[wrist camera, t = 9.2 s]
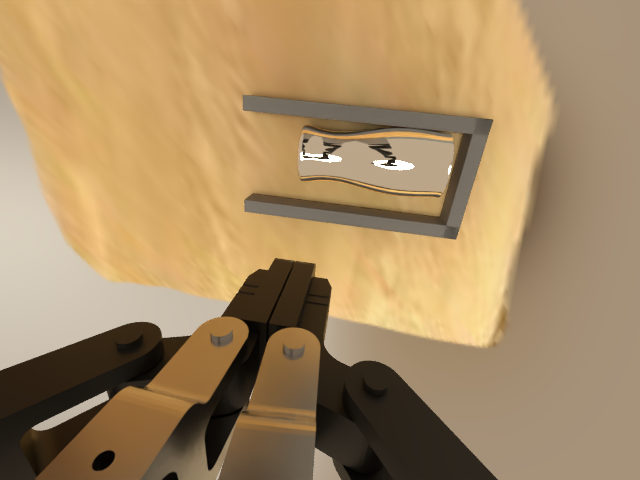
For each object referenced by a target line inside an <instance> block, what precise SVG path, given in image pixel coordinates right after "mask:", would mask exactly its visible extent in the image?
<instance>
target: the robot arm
mask: <svg viewBox="0 0 640 480" xmlns="http://www.w3.org/2000/svg"><path fill="white" fill-rule="evenodd" d="M315 268H316V264H313V263H306V262H299V261H296V262H295V261H292V260H285V259H278V258H275V260H274V261H273V263H272V265H271V266H270V268H269V270H262V269H259V270H257V271H256V272H254V273H252V274H251V275H249V276H248V278H247V279H246V281H245V282H244V284H243V286H242V287H241V288H240V290H239V292H238V293H237V294H236V296H235V297H234V298H233V300H232V301H231V303H230V304H229V306H228V307H227V309H226V310H225V312H224V313H223V315H222V316H221V317H218V318H214V319H211V320H209V321H207V322H205V323H203V324H202V325H201V326H200V327H199V328H198V329H197V330H196V331H195V332H194V333H193V334H192V335H191V336H183V337H170V338H162V334H161V331H160V328H159V327H158V326H156V325H155V324H152V323H148V322H135V323H130V324H126V325H123V326H120V327H117V328H115V329H112V330H109V331H107V332H104V333H101V334H98V335H96V336H93V337H90V338H88V339H85V340H82V341H79V342H77V343H74V344H72V345H68V346H66V347H63V348H60V349H58V350H55V351H52V352H50V353H47V354H44V355H41V356H39V357H36V358H33V359H31V360H28V361H25V362H22V363H20V364H17V365H14V366H12V367H9V368H6V369H3V370H1V371H0V480H216V477H217V475H218V473H219V471H220V468H221V466H222V464H223V466H222V469H221V473H220V476H219V479H218V480H313V466H314V450H315V448H317V449H319V450H320V451H322V452H323V453H325V454H327V455H328V456H330V457H332V458H333V463H334V466H335V468H336V471H337V472H338V474H339V476H340V478H341V480H497V479H496V477H495V476H494V475H493V474H492V473H491V472H490V471H489V470H488V469H487V468H486V467H485V466H484V465H483V464H482V463H481V462H480V461H479V459H477V457H476V456H475V455H474V454H473V453H472V452H471V451H470V450H469V449H468V448H467V447H466V446H465V445H464V444H463V443H462V442H461V441H460V439H459V438H458V437H457V436H456V435H455V434H454V433H453V432H452V431H451V430H450V429H449V428H448V427H447V426H446V425H445V424H444V423H443V422H442V420H441V419H440V418H439V417H438V416H437V415H436V414H435V413H434V412H433V411H432V410H431V409H430V408H429V407H428V406H427V405H426V404H425V402H423V400H422V399H421V398H420V397H419V396H418V395H417V394H416V393H415V392H414V391H413V390H412V389H411V388H410V387H409V386H408V385H407V383H406V382H405V381H404V380H403V379H402V378H401V377H400V376H399V375H398V374H397V373H396V372H395V371H394V370H392V369H391V368H390V367H388V366H386V365H384V364H382V363H380V362H376V361H361V362H358V363H356V364H354V365H353V366H351V367H350V366H347V365H345V364H343V363H341V362H339V361H337V360H336V359H335V358H333V357H332V356H331V355H330V354H329V353H328V351H327V350H326V348H325V346H324V339H325V333H326V326H327V320H328V312H329V304H330V297H331V289H332V287H331V285H330V283H329V281H328V279H324V278H317V277H315ZM254 385H255V386H254ZM253 388H254V390H253ZM252 390H253V393H252ZM105 391H107V393H108V396H109V400H108V401H105V402H103V403H101V404H100V405H97V406H95V407H93V408H91V409H90V410H87V411H86V412H83V413H81V414H79V415H77V416H75V417H74V418H71V419H69V420H67V421H66V422H64V423H61V424H59V425H57V426H56V427H53V428H51V429H48V430H43V431H36V430H33V429H32V427H33V426H35V425H37V424H39V423H40V422H43V421H45V420H47V419H49V418H51V417H53V416H55V415H57V414H59V413H61V412H63V411H66V410H68V409H70V408H72V407H74V406H76V405H78V404H80V403H82V402H84V401H86V400H88V399H91V398H93V397H95V396H97V395H99V394H101V393H103V392H105ZM251 393H252V396H251V399H249V398H250V395H251ZM223 462H224V463H223Z"/></svg>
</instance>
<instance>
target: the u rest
mask: <svg viewBox="0 0 640 480" xmlns="http://www.w3.org/2000/svg"><path fill="white" fill-rule="evenodd" d="M243 110H244V111H254V112H264V113H273V114H283V115H293V116H302V117H312V118H322V119H331V120H341V121H351V122H360V123H370V124H380V125H390V126H399V127H409V128H419V129H428V130H438V131H448V132H457V133H463V136H462V139H461V143H460V147H459V150H458V154H457V158H456V161H455V165H454V168H453V172H452V176H451V179H450V183H449V187H448V190H447V194H446V197H445V201H444V205H443V208H442V212H441V216H440V217H434V216H426V215H418V214H410V213H402V212H394V211H386V210H378V209H370V208H362V207H355V206H347V205H339V204H331V203H323V202H315V201H307V200H299V199H291V198H283V197H275V196H268V195H260V194H252V195H250V196H249V197H248V198H246V199H245V200H244V203H245V212H251V213H259V214H266V215H274V216H282V217H289V218H297V219H304V220H312V221H319V222H327V223H335V224H342V225H350V226H357V227H365V228H373V229H380V230H388V231H395V232H403V233H410V234H418V235H426V236H433V237H441V238H448V239H456V238H457V235H458V232H459V228H460V225H461V222H462V219H463V215H464V212H465V209H466V206H467V203H468V199H469V196H470V193H471V190H472V186H473V183H474V180H475V177H476V174H477V170H478V167H479V164H480V161H481V157H482V154H483V151H484V148H485V145H486V141H487V138H488V135H489V132H490V128H491V125H492V122H493V120H492V119H482V118H472V117H461V116H451V115H441V114H431V113H421V112H411V111H401V110H391V109H381V108H370V107H360V106H350V105H340V104H330V103H320V102H310V101H300V100H289V99H279V98H269V97H259V96H249V95H243Z"/></svg>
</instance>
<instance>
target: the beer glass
mask: <svg viewBox="0 0 640 480" xmlns="http://www.w3.org/2000/svg"><path fill="white" fill-rule="evenodd" d="M453 157H454V140H453V136H452V135H451V134H446V133H439V132H434V131H427V130H421V129H411V128H380V129H369V130H360V131H348V132H338V131H330V130H325V129H321V128H318V127H314V126H310V125H305V126H304V127H303V128H302V131H301V135H300V140H299V147H298V175H299V179H300V181H301V182H312V181H335V182H341V183H345V184H349V185H353V186H356V187H360V188H363V189H367V190H370V191H374V192H379V193H383V194H389V195H396V196H408V197H436V198H438V197H440V196H441V195H442V194H443V192H444V190H445V188H446V186H447V183H448V180H449V177H450V173H451V169H452V164H453Z"/></svg>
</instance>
